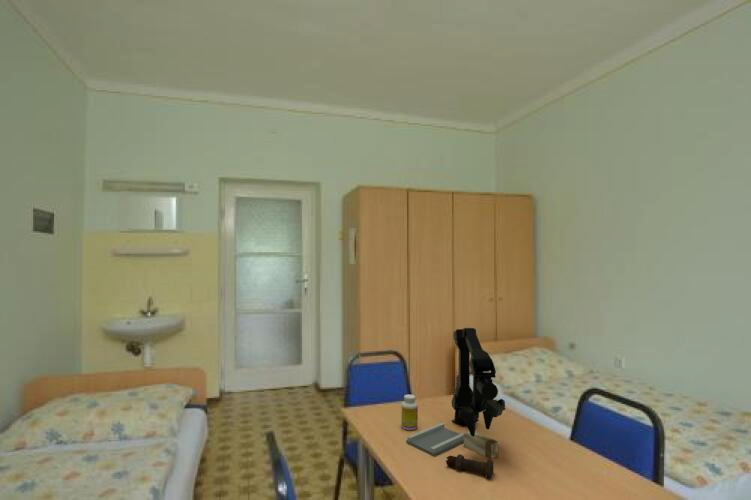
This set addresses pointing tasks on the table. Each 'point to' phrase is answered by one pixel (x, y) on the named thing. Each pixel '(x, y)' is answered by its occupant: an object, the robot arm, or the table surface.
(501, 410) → the robot arm
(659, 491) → the table surface
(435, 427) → the cradle
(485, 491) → the table surface
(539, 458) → the table surface
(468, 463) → the bolt
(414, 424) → the supplement bottle
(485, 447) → the banded block
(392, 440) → the table surface
